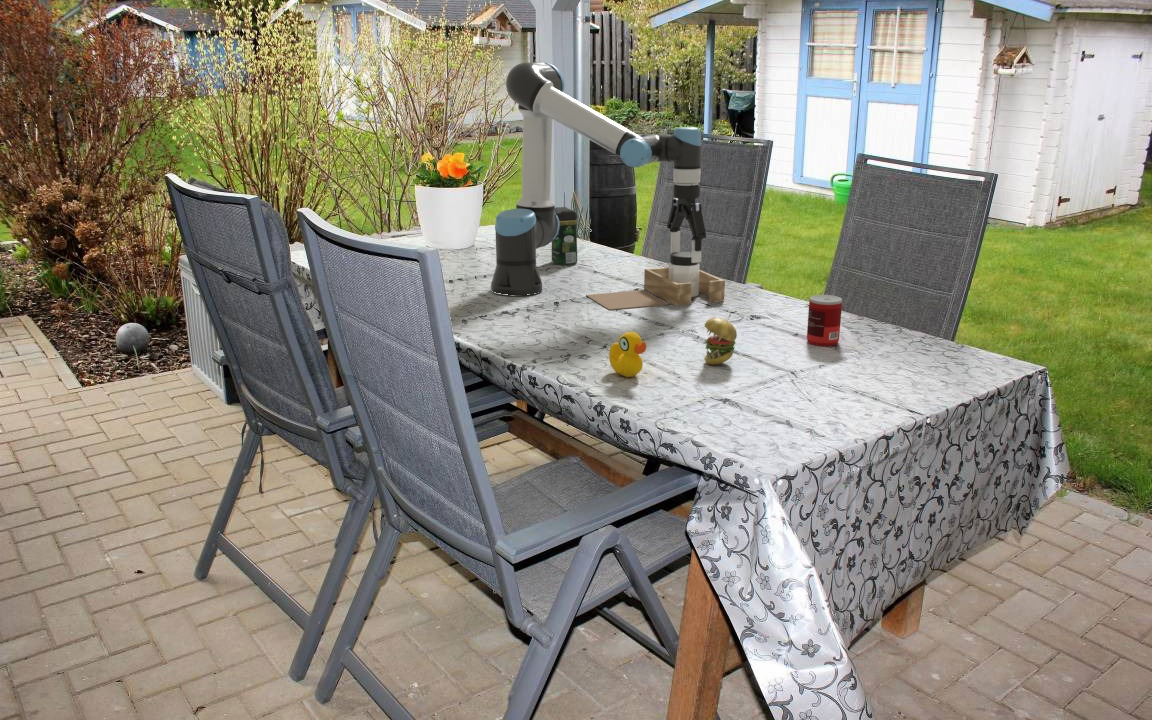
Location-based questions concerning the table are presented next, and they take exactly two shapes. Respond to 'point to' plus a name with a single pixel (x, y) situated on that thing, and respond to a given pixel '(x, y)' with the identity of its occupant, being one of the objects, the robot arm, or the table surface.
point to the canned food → (824, 320)
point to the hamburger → (720, 340)
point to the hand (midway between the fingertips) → (685, 258)
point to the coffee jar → (565, 237)
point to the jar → (684, 270)
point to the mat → (627, 300)
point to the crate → (682, 286)
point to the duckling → (627, 354)
